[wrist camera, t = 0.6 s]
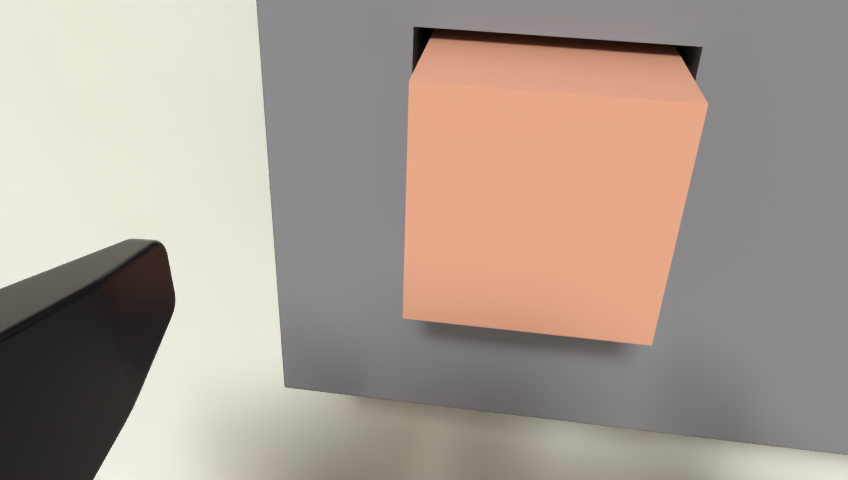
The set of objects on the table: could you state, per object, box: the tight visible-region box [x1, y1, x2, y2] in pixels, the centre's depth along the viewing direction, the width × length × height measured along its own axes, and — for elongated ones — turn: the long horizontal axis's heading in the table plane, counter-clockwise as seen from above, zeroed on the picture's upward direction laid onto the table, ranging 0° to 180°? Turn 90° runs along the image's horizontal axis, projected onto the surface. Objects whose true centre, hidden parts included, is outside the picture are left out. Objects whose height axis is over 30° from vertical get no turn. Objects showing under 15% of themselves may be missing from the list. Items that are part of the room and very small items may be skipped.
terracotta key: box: [403, 28, 708, 346], centre depth 16 cm, size 5×5×4 cm
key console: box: [256, 0, 848, 455], centre depth 18 cm, size 24×14×6 cm, turn 88°
